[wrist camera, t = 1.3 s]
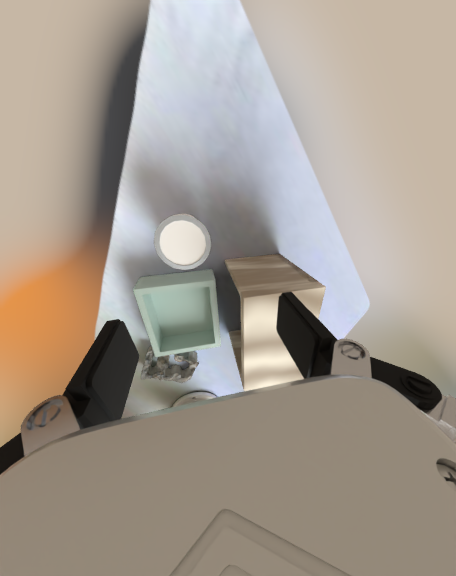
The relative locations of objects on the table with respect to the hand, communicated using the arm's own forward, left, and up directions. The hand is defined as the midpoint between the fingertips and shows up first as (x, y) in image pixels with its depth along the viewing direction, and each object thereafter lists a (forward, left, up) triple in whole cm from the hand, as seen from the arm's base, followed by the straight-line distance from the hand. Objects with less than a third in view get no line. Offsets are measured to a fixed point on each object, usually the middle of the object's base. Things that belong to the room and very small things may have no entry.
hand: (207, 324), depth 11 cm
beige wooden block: (-12, -9, -21) cm, 26 cm away
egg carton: (-25, +9, -21) cm, 34 cm away
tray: (-12, +4, -21) cm, 24 cm away
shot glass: (+1, +2, -21) cm, 21 cm away
